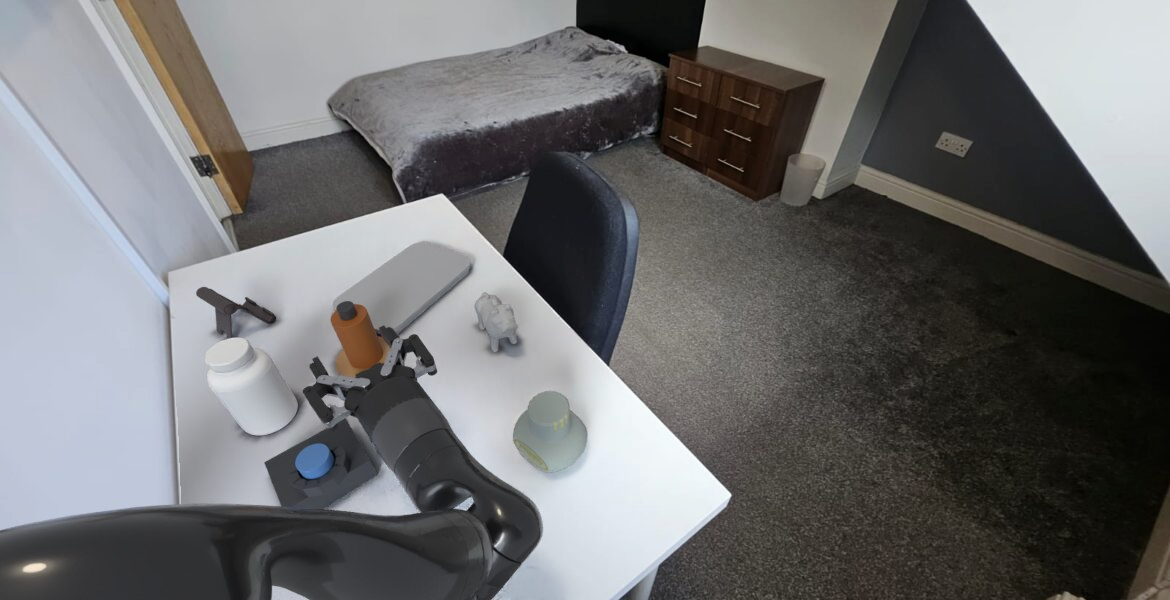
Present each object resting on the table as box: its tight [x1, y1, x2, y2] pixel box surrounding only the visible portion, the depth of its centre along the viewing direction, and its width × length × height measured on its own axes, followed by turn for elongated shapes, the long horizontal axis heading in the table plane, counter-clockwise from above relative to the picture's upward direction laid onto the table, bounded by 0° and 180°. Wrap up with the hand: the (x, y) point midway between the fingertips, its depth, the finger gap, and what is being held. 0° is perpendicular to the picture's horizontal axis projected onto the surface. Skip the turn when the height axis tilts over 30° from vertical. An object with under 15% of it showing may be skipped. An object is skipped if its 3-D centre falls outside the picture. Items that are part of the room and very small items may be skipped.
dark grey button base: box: [263, 417, 378, 509], centre depth 64 cm, size 11×10×6 cm
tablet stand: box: [195, 286, 278, 339], centre depth 86 cm, size 9×8×8 cm
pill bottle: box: [204, 337, 299, 436], centre depth 69 cm, size 8×8×15 cm
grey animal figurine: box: [474, 291, 519, 353], centre depth 84 cm, size 5×13×11 cm, turn 32°
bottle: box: [329, 301, 383, 369], centre depth 79 cm, size 6×6×12 cm
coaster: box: [335, 335, 391, 378], centre depth 83 cm, size 10×10×1 cm
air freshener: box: [512, 390, 588, 473], centre depth 67 cm, size 11×8×10 cm
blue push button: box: [295, 444, 334, 480], centre depth 61 cm, size 4×4×2 cm
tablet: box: [331, 241, 472, 336], centre depth 97 cm, size 16×26×2 cm, turn 152°
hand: (350, 345), depth 61 cm, fingers open, 8 cm apart
